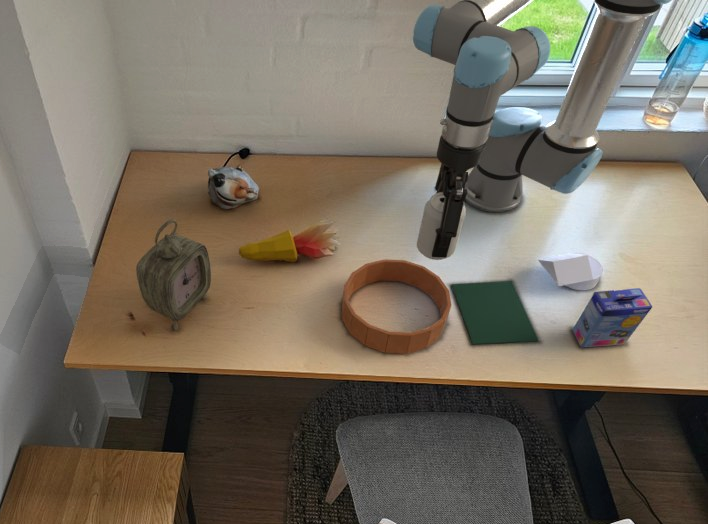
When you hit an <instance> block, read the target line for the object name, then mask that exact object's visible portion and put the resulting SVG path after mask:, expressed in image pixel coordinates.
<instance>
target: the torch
mask: <svg viewBox="0 0 708 524" xmlns="http://www.w3.org/2000/svg"><path fill="white" fill-rule="evenodd" d="M335 223H336V222H334V221H333V222H332V219H330V220H327V219H324V220H320V221H318V222H316V223H314V224H313V225H311V226H309V227H308V228H305V229H304V230H303V231H301V232H299V233H298V234H296V235H293V233H292V231H291V230H289V229H287V230H285V231H283V232H280V233H278V234H276V235H273V236H271V237H268V238H265V239H262V240H260V241H255V242H248V243H246V244H243V245H242V246H240V247H239V248H238V254H239V256H240V257H241V258H242V259H246V260H250V261H259V262H266V261H285V262H290V263H291V262H292V263H296V262H297V260H298V256H299V255H300V256H306V257H310V258H311V259H314V260H315V261H316V260H320V259H323V258H328V257H331V256H335V254H334V252H333V251H335V250H336V248H335V247H336V246H338V245H342V243H341V242H339V241H338V240H339V239H340V237H339V236H337V235H336V234H338V232H339V230H340V228H335V229H330V230H328V229H329V228H330V227H332V225H334V224H335Z"/></svg>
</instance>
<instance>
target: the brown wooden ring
mask: <svg viewBox="0 0 708 524" xmlns="http://www.w3.org/2000/svg"><path fill="white" fill-rule="evenodd" d="M381 281H386V282H387V281H389V282H401V283H404V284H407V285H411V286H413V287H417V288H418V289H420V290H421V291H422V292H423V293H425V294H426V295H428V296H429V297H431V299H432V300H433V302H434V303H435V304H436V306H437V307H438V308H439V312H440V313H439V314H440V319H438V320H437V321H436V322H434V323H433V324H431V325H430V326H429V327H426V328H423V329H419V330H415V331H411V332H403V331H389V330H386V329H383V328H380V327H377V326H375V325H372V324H370V323H368V322H367V321H366V320H364V319H363V318H362V317H361V316H359V314H357V313H356V312H355V310H354V308H353V307H352V305H351V303H350V301H349V300H350V298H351V296H352V295H353V293H355V292H356V291H358V290H359V289H361V288H362V287H364V286H365V285H369V284H373V283H377V282H381ZM342 292H343V294H342V300H341V301H342V302H341V319H342V322H343V323H344V325H345V327H346V328H347V330H348V333H349V334H350V336H352V337H353V338H355V339H356V340H358V341H359V342H360V343H362V345H363V346H366V347H369V348H371V349H374V350H376V351H379V352H382V353H384V354H402V355H403V354H404V355H406V354H411V353H415V352H418V351H421V350H425V349H427V348H428V347H430V346H432V345H433V344H434V343H435V342H437V340H439V339H440V338H441V335H442V333H443V331H444V329H445V327H446V324H447V321H448V318H449V314H450V311H451V308H452V300H451V299H452V298H451V293H450V289H449V288H448V286H447V285H446V284H445V283H444V281H443V280H442V278H441V277H440V276H439V275H438V274H436V273H435V272H433V271H432V270H430V269H429V268H427V267H426V266H423V265H421V264H419V263H414V262H411V261H408V260H404V259H387V258H385V259H380V260H376V261H372V262H367V263H364V264H363V265H362V266H360V267H358V268H357V269H356V270H354V271H352V273H350V275H349V277H348V279H347V280H346V282H345V283H344V286H343V291H342Z"/></svg>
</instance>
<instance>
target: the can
mask: <svg viewBox="0 0 708 524" xmlns="http://www.w3.org/2000/svg"><path fill="white" fill-rule="evenodd" d="M444 199H445V196H444V195H443V192H439V193H436V192H435V193H434V194H432V195H431V196H430V198H429V199H428V200H427V201H426V203H425V204H424V208H423V214H422V217H421V222H420V227H419V231H418V236H417V240H416V248H417V250H418V252H419V253H420V254H421V255H423V256H424V257H425V258H427V259H429V260H432V261H441V260H445V259H448V258H450V257H452V256H453V255H454V254H455V252H456V248H457V247H458V246H457V245H458V241H459V239H460V234H461V232H462V231H461V230H462V228H463V224H464V221H465V218H466V213H467V208H466V206H465V203H464V204H463V209H462V213H461V217H460V222H459V226H458V230H457V236H456V238H454V237H452V239H451V242H450V246H449V250H448V253H447V257H446V258H443V257H432V251H433V247H434V243H435V239H436V235H437V233H436V232H435V231H436V229H438V228H440V225H441V218H442V212H443V205H444Z"/></svg>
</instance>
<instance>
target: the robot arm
mask: <svg viewBox="0 0 708 524" xmlns="http://www.w3.org/2000/svg"><path fill="white" fill-rule="evenodd" d="M533 1H534V0H459V1H458V2H455V4H453V5H452V6H450V7H448V8H447V7H446V6H445V5H436V4H431V5H428V6H427V7H425V8H424V9H423V10H422V11H421V13H420V14H419V16H418V17H417V19H416V22H415V24H414V26H413V32H412V33H413V34H412V35H413V36H412V42H413V46H414V47H415V48H416V50H418V51H420V52H421V53H422V52H423V53H424V54H427V55H429V57H430V58H435V59H437V60H440V61H443V62H446V63H448V64H450V65H453V66H454V68H453V77H452V81H451V87H450V92H449V97H448V102H447V106H446V109H445V117H444V118H441V119H440V121H439V124H440V125H441V126H442V128H441V135H440V136H439V140H438V146H437V151H436V157H437V160H438V161H439V163H440V168H439V171H438V175H437V178H436V182H435V186H434V191H435V194H436V193H439V192H443V195H444V196H445V199H444V205H443V212H442V218H441V225H440V228H438V229H436V231H435V232H436V233H437V235H436V239H435V243H434V247H433V251H432V257H443V258H446V257H447V253H448V250H449V246H450V242H451V239H452V237H454V238H456V236H457V230H458V226H459V222H460V217H461V213H462V209H463V204H464V205H465V202H467V204H469V205H470V206H472V207H474V208H476V209H478V210H480V211H485V212H490V213H505V212H509V211H512V210H513V209H516V208H517V207H518V206H519V205H520V203H521V201H522V198H523V193H524V189H523V187H524V184H523V176H524V177H526V178H528V179H530V180H532V181H534V182H537V183H539V184H541V185H543V186H545V187H547V188H549V189H550V190H552V191H556V192H558V193H560V194H564V195H569V194H571V193H573V192H574V191H576V190H577V189H578V188H579V187H580V186H582V184H583V183H584V182H585V181H586V180H587V179H588V178H589V176H590V175H591V174H592V173H593V171H594V170H595V169H596V167H597V165H598V164H599V162H600V161H601V159H602V157H603V150H601V149H600V148H599V147H597V146H598V144H599V141H600V134H599V132H598V130H597V128H598V127H599V124H600V122H601V119H602V117H603V115H604V112H605V110H606V108H607V107H608V103H609V102H610V99H611V97H612V95H613V92H614V90H615V89H616V86H617V83H618V81H619V79H620V77H621V74H622V72H623V71H624V68H625V65H626V64H627V61H628V59H629V56H630V55H631V52H632V50H633V48H634V46H635V43H636V40H637V39H638V36H639V34H640V32H641V30H642V29H643V26H644V23H645V21H646V19H648V18H649V17H650V16H653V15H654V14H656V13H657V12H659V10H660V8H661V6H662V5H668V4H669V3H670V2H672V0H593V3H594V5H595V7H596V8H597V12H596V15H595V18H594V20H593V23H592V25H591V28H590V31H589V33H588V36H587V39H586V41H585V44H584V46H583V49H582V52H581V54H580V57H579V59H578V62H577V64H576V67H575V69H574V72H573V74H572V77H571V80H570V82H569V85H568V87H567V90H566V92H565V95H564V98H563V101H562V103H561V105H560V108H559V111H558V113H557V116H556V119H555V120H553V121H551V122H549V123H548V124H547V125H546V126H544V125H542V123H543V117H542V115H541V113H540V112H538V111H537V110H534V109H532V108H528V107H521V106H520V107H519V106H515V107H506V108H503V109H500V110H498V111H496V109H497V106H498V103H499V100H500V98H501V96H503V95H505V94H506V93H507V92H509V91H510V90H513V89H514V88H516V87H517V86H519V85H520V84H522V83H523V82H525V81H528V80H529V79H531V78H533V76H534V75H535V74H536V73H537V72H539V71H540V70H542V69H543V67H544V66H545V65H546V64H547V62H548V60H549V58H550V54H551V42H550V39H549V37H548V35H547V34H546V32H545V31H544V30H543V29H542V28H540V27H537V26H534V25H529V26H524V27H520V28H516V29H515V30H512V29H509V28H505V27H503V26H501V25H502V24H504V23H505V22H506V21H508V20H509V19H510V18H512V17H513V16H514V15H515V14H517V13H518V12H520V11H521V10H522V9H523V8H524V7H526V6H527V5H529V4H530V3H532V2H533ZM469 170H470V172H469ZM446 259H447V258H446Z"/></svg>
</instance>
